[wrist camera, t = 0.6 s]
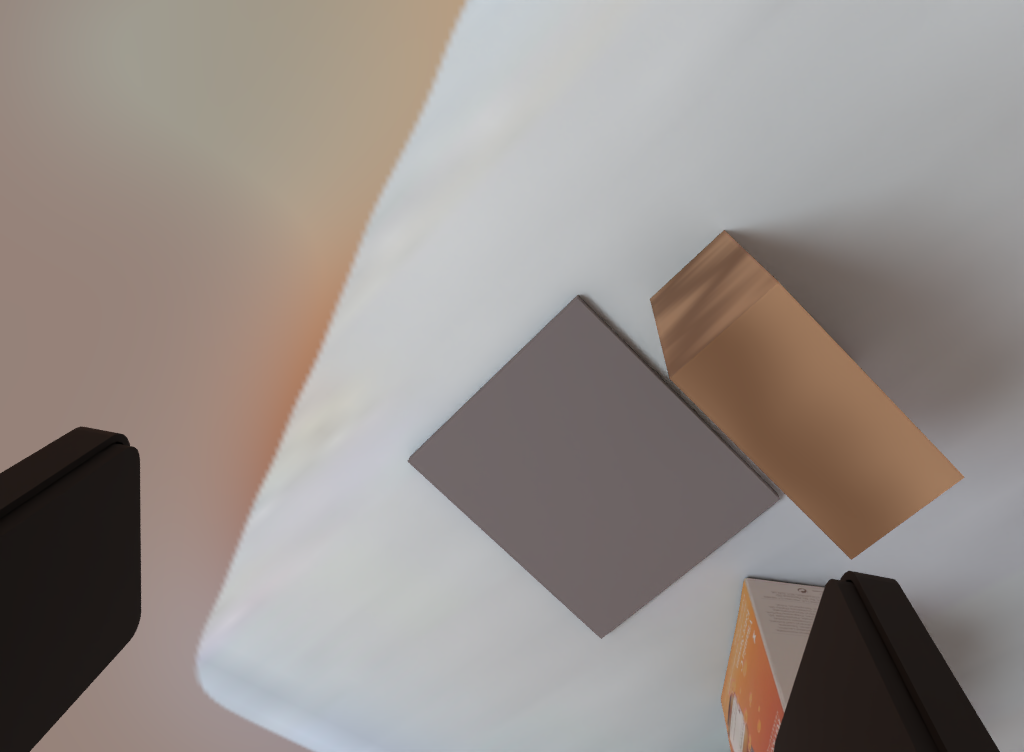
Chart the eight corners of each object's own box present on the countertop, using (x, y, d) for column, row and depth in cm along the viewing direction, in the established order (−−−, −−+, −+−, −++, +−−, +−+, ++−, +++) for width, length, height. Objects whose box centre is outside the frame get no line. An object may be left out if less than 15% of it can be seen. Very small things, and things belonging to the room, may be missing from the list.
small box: (743, 573, 41) (787, 718, 31) (855, 587, 41) (935, 740, 31) (717, 701, 44) (750, 873, 34) (822, 716, 43) (886, 895, 33)
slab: (724, 229, 36) (778, 281, 25) (855, 367, 37) (964, 477, 26) (647, 301, 38) (666, 381, 26) (776, 431, 39) (847, 562, 27)
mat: (577, 295, 38) (577, 297, 37) (777, 493, 40) (779, 499, 39) (410, 456, 41) (407, 461, 41) (601, 631, 43) (601, 638, 43)
